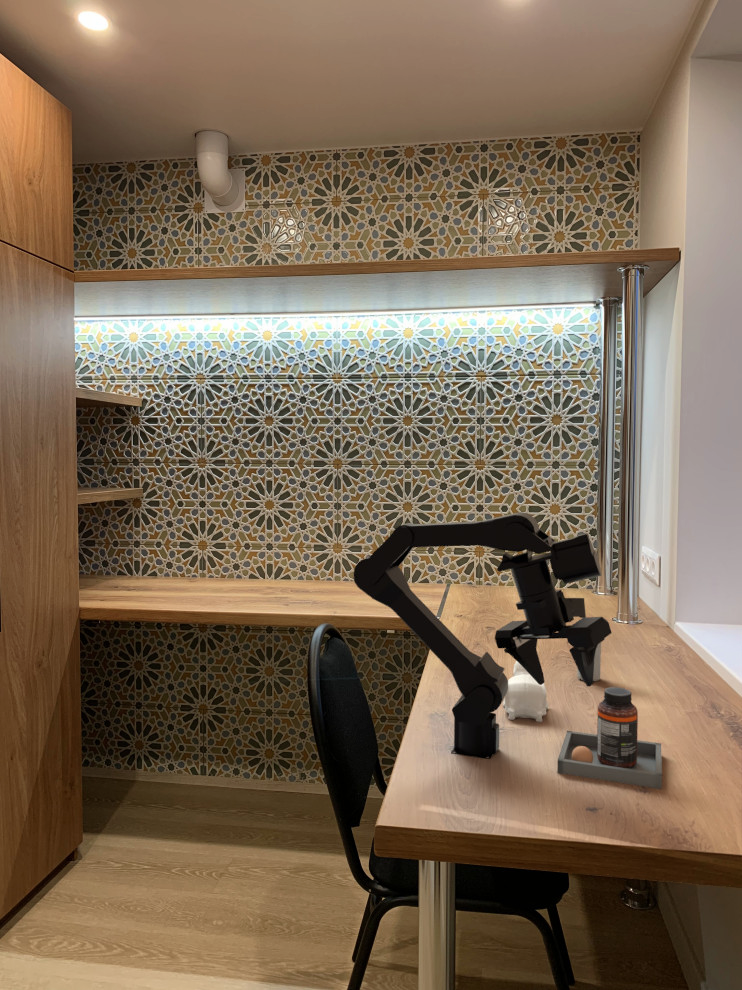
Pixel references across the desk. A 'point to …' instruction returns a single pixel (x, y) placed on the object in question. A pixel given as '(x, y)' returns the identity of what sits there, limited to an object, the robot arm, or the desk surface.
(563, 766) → the tray
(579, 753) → the ball
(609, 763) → the supplement bottle
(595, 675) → the beverage can
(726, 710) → the desk surface
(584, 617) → the robot arm
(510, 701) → the white low-poly figurine
